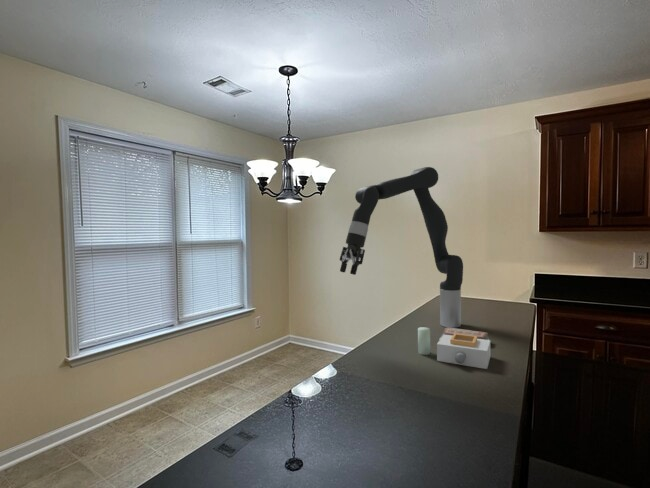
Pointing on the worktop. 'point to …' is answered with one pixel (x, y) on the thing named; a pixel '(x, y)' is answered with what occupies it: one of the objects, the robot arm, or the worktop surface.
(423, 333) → the pale green rounded piece
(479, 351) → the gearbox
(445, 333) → the packaged product
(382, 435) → the worktop surface
